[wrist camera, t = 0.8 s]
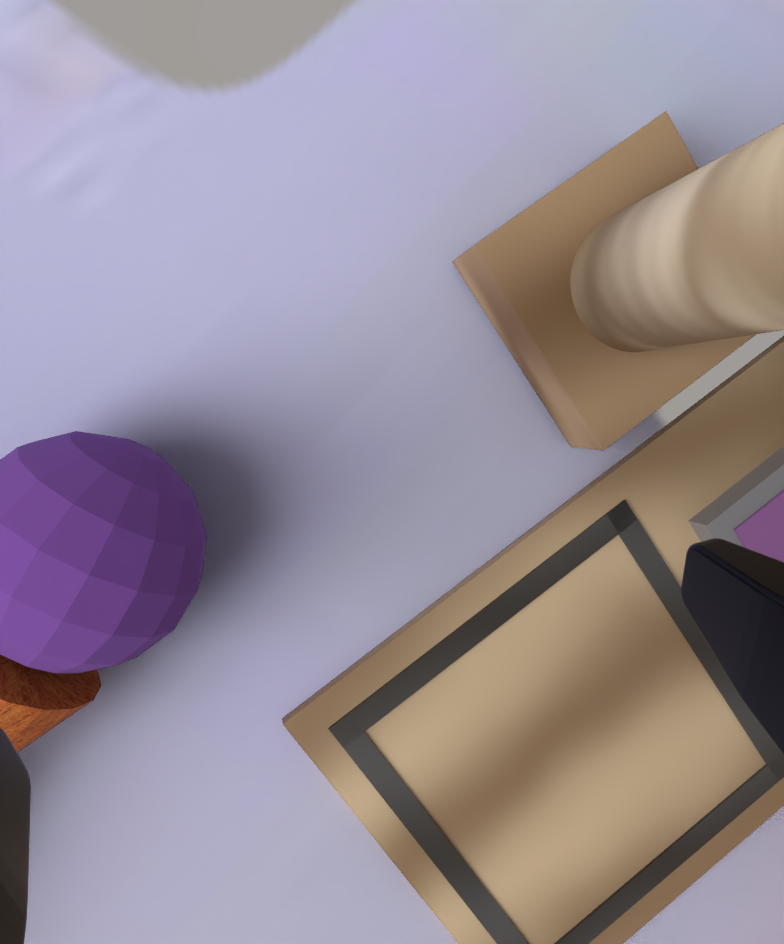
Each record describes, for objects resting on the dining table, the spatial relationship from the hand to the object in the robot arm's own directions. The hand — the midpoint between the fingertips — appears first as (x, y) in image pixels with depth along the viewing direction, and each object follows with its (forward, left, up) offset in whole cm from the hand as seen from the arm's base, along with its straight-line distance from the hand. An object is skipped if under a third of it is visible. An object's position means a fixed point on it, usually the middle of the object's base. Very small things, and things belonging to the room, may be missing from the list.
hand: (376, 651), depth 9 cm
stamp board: (-12, -8, -13) cm, 20 cm away
